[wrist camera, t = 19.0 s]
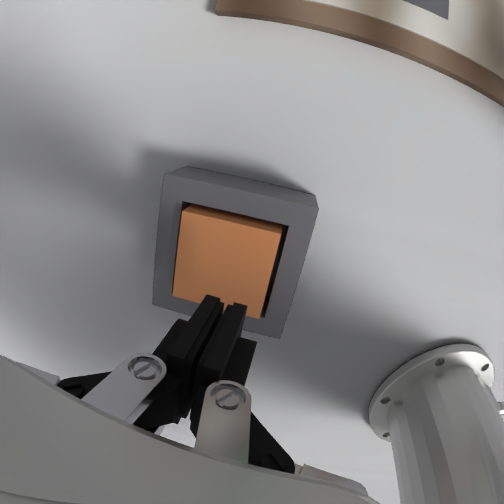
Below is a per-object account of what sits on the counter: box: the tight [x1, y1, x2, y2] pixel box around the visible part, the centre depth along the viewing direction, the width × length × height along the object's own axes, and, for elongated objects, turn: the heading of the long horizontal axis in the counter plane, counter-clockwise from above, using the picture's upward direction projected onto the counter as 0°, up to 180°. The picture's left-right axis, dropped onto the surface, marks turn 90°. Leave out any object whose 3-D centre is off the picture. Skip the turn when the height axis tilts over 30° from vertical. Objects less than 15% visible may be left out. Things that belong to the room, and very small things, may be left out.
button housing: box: [152, 166, 319, 339], centre depth 18 cm, size 8×8×4 cm
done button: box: [173, 203, 283, 319], centre depth 17 cm, size 5×5×3 cm
